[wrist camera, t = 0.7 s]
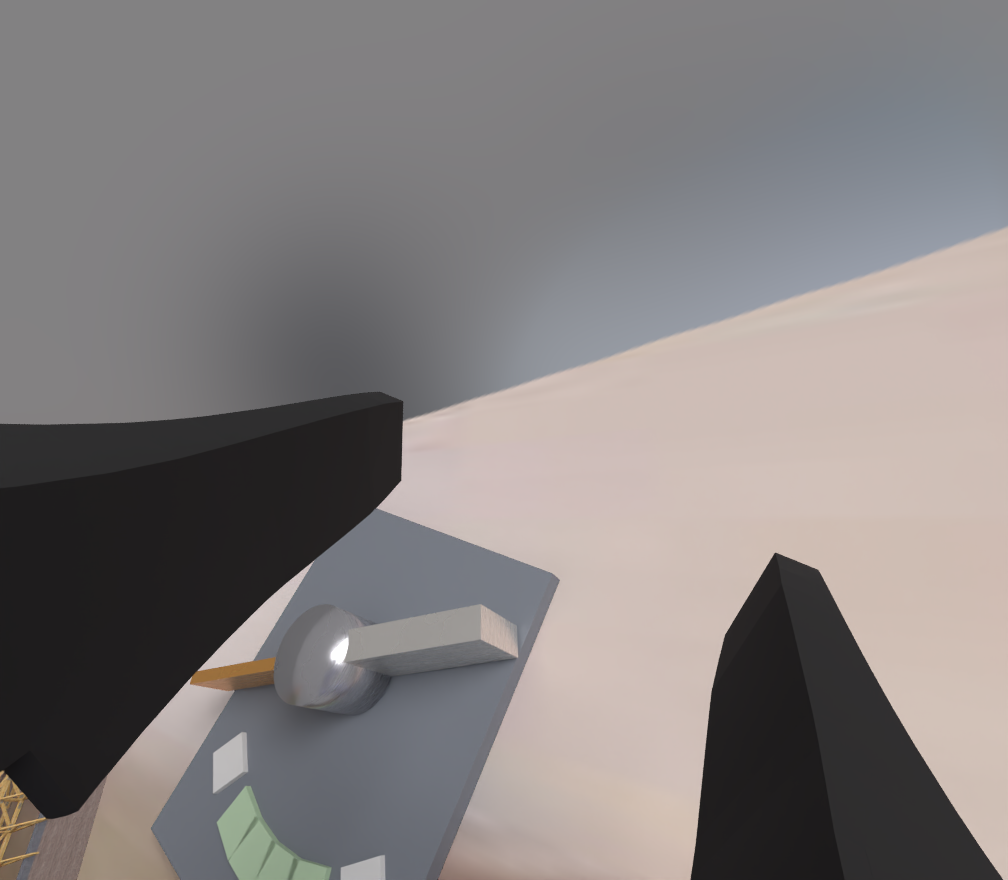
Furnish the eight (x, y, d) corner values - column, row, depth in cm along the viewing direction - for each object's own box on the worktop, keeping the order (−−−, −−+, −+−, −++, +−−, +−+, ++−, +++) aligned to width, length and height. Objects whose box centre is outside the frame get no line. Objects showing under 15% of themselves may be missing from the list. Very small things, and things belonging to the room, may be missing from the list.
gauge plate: (342, 1111, 17) (316, 1129, 16) (168, 827, 26) (145, 828, 25) (559, 580, 24) (550, 571, 23) (361, 505, 34) (349, 497, 33)
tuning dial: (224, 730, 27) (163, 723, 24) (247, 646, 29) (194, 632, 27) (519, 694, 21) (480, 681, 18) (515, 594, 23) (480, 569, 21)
